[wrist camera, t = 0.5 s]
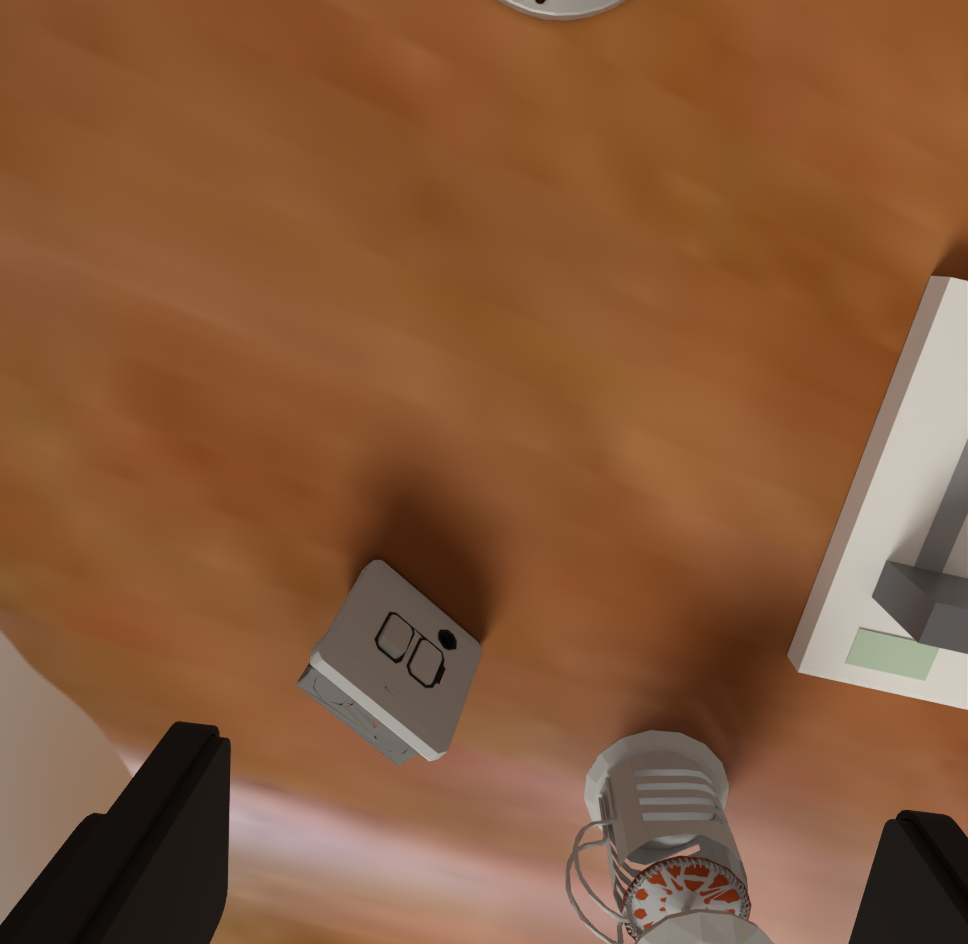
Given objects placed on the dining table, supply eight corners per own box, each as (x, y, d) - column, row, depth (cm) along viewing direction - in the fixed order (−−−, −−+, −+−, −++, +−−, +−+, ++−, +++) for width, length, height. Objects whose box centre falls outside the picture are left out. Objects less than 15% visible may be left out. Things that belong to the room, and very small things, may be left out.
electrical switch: (486, 645, 49) (466, 742, 41) (434, 690, 51) (405, 792, 42) (377, 551, 48) (333, 631, 39) (327, 601, 50) (274, 688, 41)
